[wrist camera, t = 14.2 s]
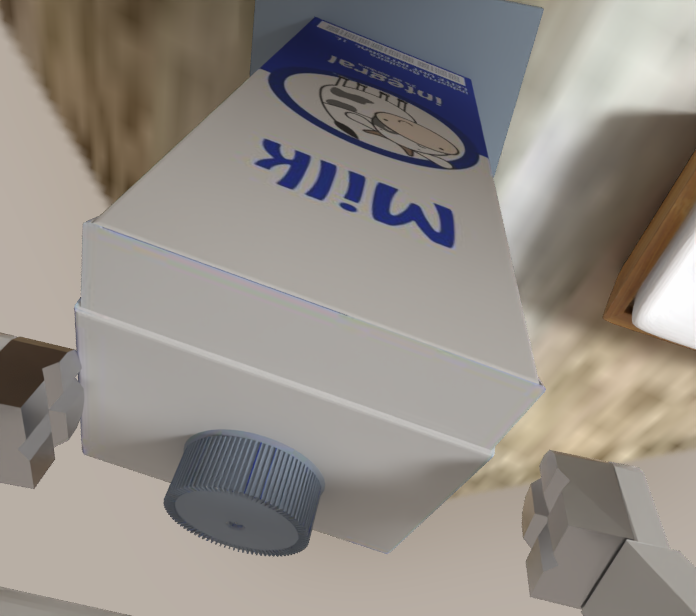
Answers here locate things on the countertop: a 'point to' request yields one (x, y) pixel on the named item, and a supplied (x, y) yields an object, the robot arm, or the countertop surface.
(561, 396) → the countertop surface
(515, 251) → the countertop surface
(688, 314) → the soap dish
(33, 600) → the robot arm
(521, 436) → the countertop surface
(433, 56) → the mat
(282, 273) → the milk carton
